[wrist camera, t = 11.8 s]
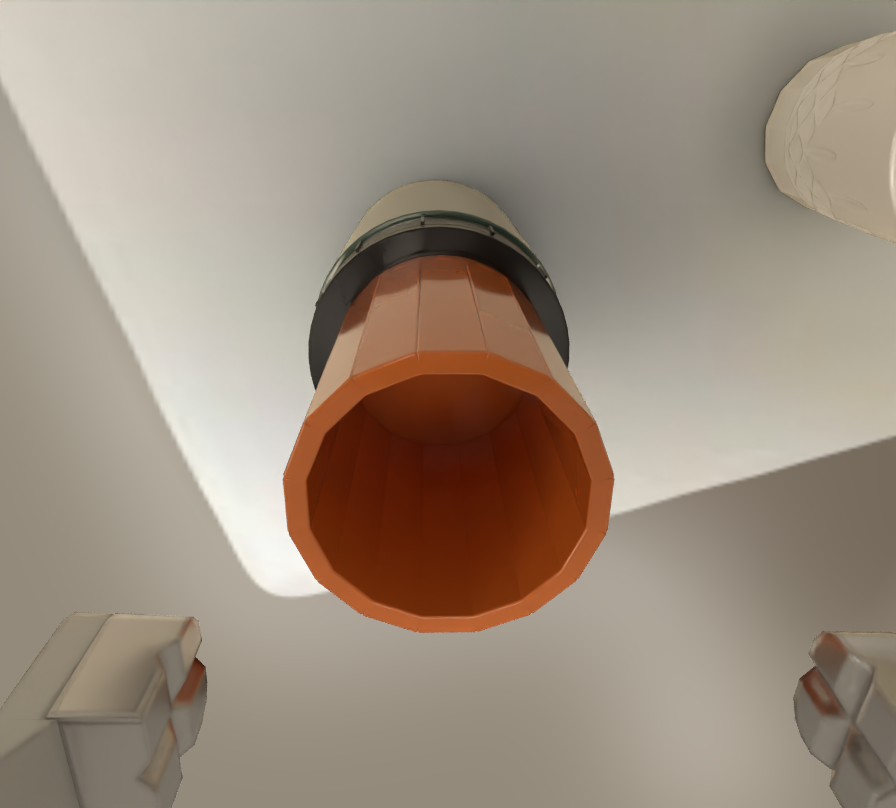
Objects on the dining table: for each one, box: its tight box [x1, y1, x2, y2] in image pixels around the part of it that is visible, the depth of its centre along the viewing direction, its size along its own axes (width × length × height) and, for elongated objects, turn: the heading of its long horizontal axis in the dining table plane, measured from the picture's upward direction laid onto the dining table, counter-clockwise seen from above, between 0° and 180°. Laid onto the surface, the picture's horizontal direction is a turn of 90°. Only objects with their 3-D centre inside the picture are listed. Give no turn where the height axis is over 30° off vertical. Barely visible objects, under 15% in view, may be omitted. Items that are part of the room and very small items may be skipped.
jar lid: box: [309, 215, 569, 391], centre depth 22 cm, size 8×8×2 cm
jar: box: [316, 180, 557, 308], centre depth 27 cm, size 8×8×12 cm
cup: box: [283, 255, 614, 633], centre depth 17 cm, size 6×6×8 cm
